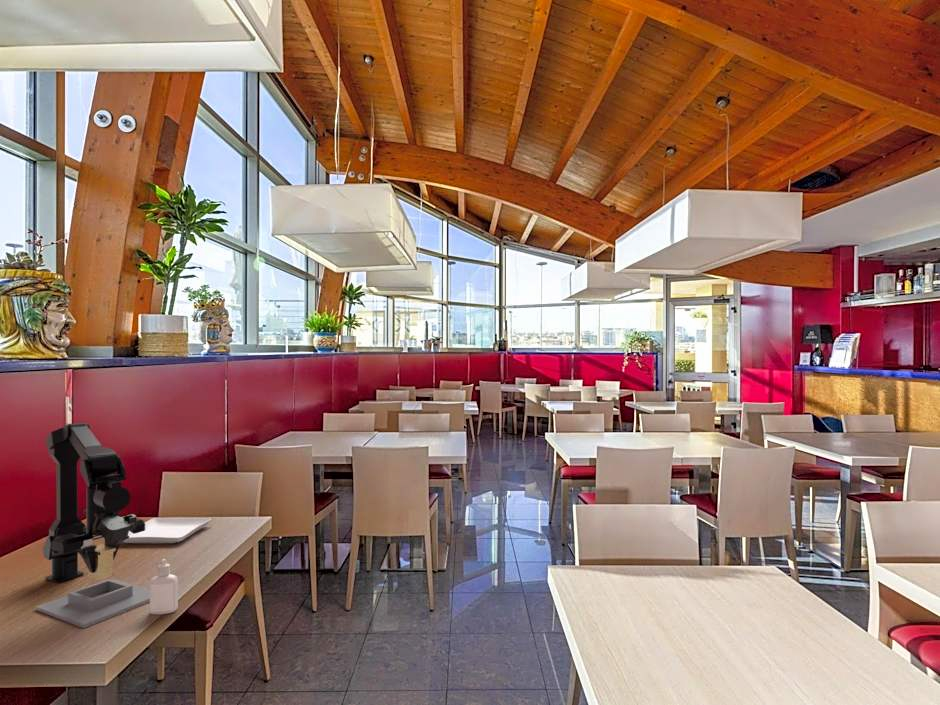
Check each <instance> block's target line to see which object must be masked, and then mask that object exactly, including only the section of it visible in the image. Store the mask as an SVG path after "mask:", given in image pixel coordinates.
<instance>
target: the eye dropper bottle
mask: <svg viewBox="0 0 940 705" xmlns="http://www.w3.org/2000/svg"><path fill="white" fill-rule="evenodd" d="M170 567H171V564H170V563H168V562H167V560H166V558H163V559H161V563H160V564H159V565H158V566H157V575H155V576H153V577H152V578H151V580H150V582H149V589H150V602H149V613H150V614H151V615H166V614H167V615H168V614H173V613H174V612H176V611H177V610H178V608H179V605H178V604H179V601H178V600H179V596H178V595H179V594H178V592H179V590H178V589H179V587H178V586H179V585H178V583H179V582H178V580H179V579H178V577H177V575H174V574H172V573H170V572H171V571H170V569H171V568H170Z"/></svg>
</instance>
